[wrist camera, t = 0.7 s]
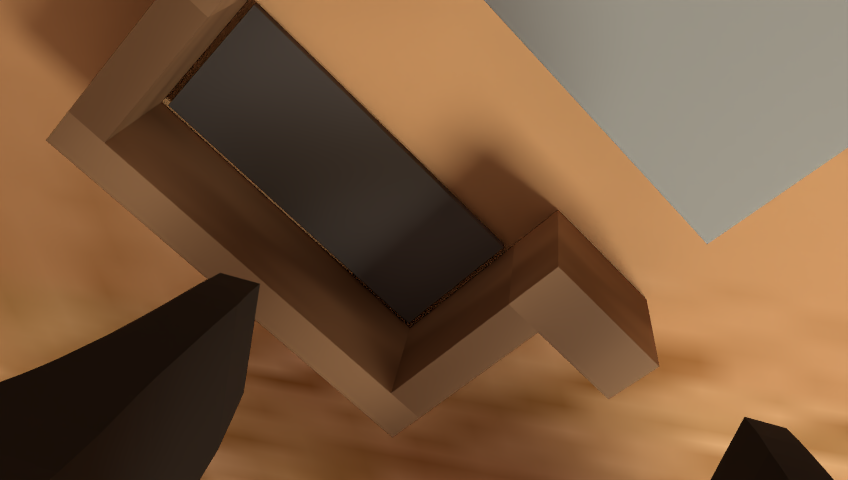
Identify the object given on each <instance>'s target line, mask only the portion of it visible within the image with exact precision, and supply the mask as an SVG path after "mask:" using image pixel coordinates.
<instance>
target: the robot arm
mask: <svg viewBox="0 0 848 480" xmlns="http://www.w3.org/2000/svg"><path fill="white" fill-rule="evenodd" d="M259 288H260V283H256V282H252V281H249V280H245V279H241V278H238V277H234V276H230V275H227V274H223V273H219V274H217V275H215V276H213V277H211V278H209V279H207V280H206V281H204V282H202V283H200V284H198V285H197V286H195V287H193V288H191V289H190V290H188V291H186V292H184V293H183V294H181V295H179V296H178V297H176V298H174V299H172V300H171V301H169V302H167V303H165V304H164V305H162V306H160V307H158V308H157V309H155V310H153V311H151V312H150V313H148V314H146V315H144V316H142V317H140V318H138V319H137V320H135V321H133V322H131V323H129V324H127V325H126V326H124V327H122V328H120V329H118V330H116V331H114V332H113V333H111V334H109V335H107V336H105V337H103V338H100V339H98V340H96V341H94V342H92V343H90V344H88V345H86V346H84V347H82V348H80V349H78V350H75V351H73V352H71V353H69V354H67V355H65V356H63V357H61V358H59V359H57V360H54V361H52V362H50V363H47V364H45V365H43V366H40V367H38V368H35V369H33V370H30V371H28V372H26V373H23V374H20V375H18V376H15V377H12V378H10V379H7V380H4V381H2V382H0V480H200V478H201V477H202V475H203V473H204V472H205V470H206V468H207V467H208V465H209V464H210V462H211V460H212V459H213V457H214V455H215V454H216V452H217V450H218V448H219V446H220V444H221V442H222V439H223V437H224V435H225V433H226V431H227V429H228V426H229V424H230V422H231V420H232V418H233V415H234V413H235V411H236V409H237V406H238V404H239V402H240V400H241V397H242V395H243V393H244V386H245V380H246V373H247V367H248V360H249V353H250V347H251V340H252V334H253V327H254V321H255V314H256V307H257V301H258V294H259ZM711 480H833V478H832V477H831V476H830V475H829V474H828V473H827V471H826V470H825V469H824V468H823V467H822V466H821V465H820V463H819V462H818V461H817V460H816V459H815V458H814V457H813V456H812V454H811V453H810V452H809V451H808V450H807V449H806V448H805V447H804V446H803V445H802V444H801V442H800V441H799V440H798V439H797V438H796V437H795V436H794V435H793V434H792V433H791V432H790V431H789V430H788V429H787V428H783V427H780V426H776V425H772V424H769V423H765V422H762V421H758V420H754V419H751V418H747V417H744V419H743V421H742V423H741V424H740V426H739V428H738V430H737V432H736V434H735V436H734V437H733V439H732V441H731V443H730V445H729V447H728V449H727V450H726V452H725V454H724V456H723V458H722V460H721V462H720V463H719V465H718V467H717V469H716V471H715V473H714V474H713V476H712V478H711Z"/></svg>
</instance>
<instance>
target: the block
mask: <svg viewBox="0 0 848 480" xmlns="http://www.w3.org/2000/svg"><path fill="white" fill-rule="evenodd" d="M484 1H485V2H486V3H487V4H488V5H489V6H490V7H491V8H492V9H493V10H494V12H495V13H496V14H497V15H498V16H499V17H500V18H501V19H502V20H503V21H504V23H505V24H506V25H507V26H508V27H509V28H510V29H511V30H512V31H513V32H514V33H515V35H516V36H517V37H518V38H519V39H520V40H521V41H522V42H523V43H524V44H525V45H526V47H527V48H528V49H529V50H530V51H531V52H532V53H533V54H534V55H535V56H536V58H537V59H538V60H539V61H540V62H541V63H542V64H543V65H544V66H545V67H546V68H547V70H548V71H549V72H550V73H551V74H552V75H553V76H554V77H555V78H556V79H557V80H558V82H559V83H560V84H561V85H562V86H563V87H564V88H565V89H566V90H567V91H568V92H569V94H570V95H571V96H572V97H573V98H574V99H575V100H576V101H577V102H578V103H579V105H580V106H581V107H582V108H583V109H584V110H585V111H586V112H587V113H588V114H589V115H590V117H591V118H592V119H593V120H594V121H595V122H596V123H597V124H598V125H599V126H600V127H601V129H602V130H603V131H604V132H605V133H606V134H607V135H608V136H609V137H610V138H611V139H612V141H613V142H614V143H615V144H616V145H617V146H618V147H619V148H620V149H621V150H622V152H623V153H624V154H625V155H626V156H627V157H628V158H629V159H630V160H631V161H632V162H633V164H634V165H635V166H636V167H637V168H638V169H639V170H640V171H641V172H642V173H643V174H644V176H645V177H646V178H647V179H648V180H649V181H650V182H651V183H652V184H653V185H654V187H655V188H656V189H657V190H658V191H659V192H660V193H661V194H662V195H663V196H664V197H665V199H666V200H667V201H668V202H669V203H670V204H671V205H672V206H673V207H674V208H675V209H676V211H677V212H678V213H679V214H680V215H681V216H682V217H683V218H684V219H685V220H686V221H687V223H688V224H689V225H690V226H691V227H692V228H693V229H694V230H695V231H696V232H697V234H698V235H699V236H700V237H701V238H702V239H703V240H704V241H705V242H706V243H707V244H708V243H710V242H711V241H713V240H714V239H715V238H717V237H718V236H720V235H721V234H723V233H724V232H726V231H727V230H729V229H730V228H731V227H733V226H734V225H736V224H737V223H739V222H740V221H742V220H743V219H745V218H746V217H747V216H749V215H750V214H752V213H753V212H755V211H756V210H758V209H759V208H761V207H762V206H763V205H765V204H766V203H768V202H769V201H771V200H772V199H774V198H775V197H777V196H778V195H779V194H781V193H782V192H784V191H785V190H787V189H788V188H790V187H791V186H793V185H794V184H795V183H797V182H798V181H800V180H801V179H803V178H804V177H806V176H807V175H809V174H810V173H811V172H813V171H814V170H816V169H817V168H819V167H820V166H822V165H823V164H825V163H826V162H827V161H829V160H830V159H832V158H833V157H835V156H836V155H838V154H839V153H841V152H842V151H843V150H845V149H846V148H848V0H484Z"/></svg>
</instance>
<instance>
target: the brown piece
mask: <svg viewBox="0 0 848 480" xmlns="http://www.w3.org/2000/svg"><path fill="white" fill-rule="evenodd" d="M247 1H248V0H155V1H154V2H153V4H152V5H151V6H150V7H149V9H148V10H147V11H146V13H145V14H144V15H143V16H142V18H141V19H140V20H139V22H138V23H137V24H136V25H135V27H134V28H133V29H132V30H131V32H130V33H129V34H128V36H127V37H126V38H125V39H124V41H123V42H122V43H121V45H120V46H119V47H118V48H117V50H116V51H115V52H114V54H113V55H112V56H111V57H110V59H109V60H108V61H107V63H106V64H105V65H104V66H103V68H102V69H101V70H100V71H99V73H98V74H97V75H96V77H95V78H94V79H93V80H92V82H91V83H90V84H89V86H88V87H87V88H86V89H85V91H84V92H83V93H82V95H81V96H80V97H79V98H78V100H77V101H76V102H75V104H74V105H73V106H72V107H71V109H70V110H69V111H68V112H67V114H66V115H65V116H64V118H63V119H62V120H61V121H60V123H59V124H58V125H57V127H56V128H55V129H54V130H53V132H52V133H51V134H50V136H49V137H48V138H47V139H46V141H47V142H48V143H50V144H51V145H52V146H53V147H54V148H55V149H57V150H58V151H59V152H60V153H61V154H62V155H64V156H65V157H66V158H67V159H68V160H69V161H71V162H72V163H73V164H74V165H75V166H76V167H78V168H79V169H80V170H81V171H82V172H83V173H85V174H86V175H87V176H88V177H89V178H90V179H92V180H93V181H94V182H95V183H96V184H97V185H99V186H100V187H101V188H102V189H103V190H104V191H106V192H107V193H108V194H109V195H110V196H111V197H113V198H114V199H115V200H116V201H117V202H118V203H120V204H121V205H122V206H123V207H124V208H125V209H127V210H128V211H129V212H130V213H131V214H132V215H134V216H135V217H136V218H137V219H138V220H139V221H141V222H142V223H143V224H144V225H145V226H146V227H148V228H149V229H150V230H151V231H152V232H153V233H155V234H156V235H157V236H158V237H159V238H160V239H162V240H163V241H164V242H165V243H166V244H167V245H169V246H170V247H171V248H172V249H173V250H174V251H176V252H177V253H178V254H179V255H180V256H181V257H183V258H184V259H185V260H186V261H187V262H188V263H190V264H191V265H192V266H193V267H194V268H195V269H197V270H198V271H199V272H200V273H201V274H202V275H204V276H205V277H206V278H207V279H209V278H211V277H213V276H215V275H217V274H219V273H223V274H227V275H230V276H234V277H238V278H241V279H245V280H249V281H252V282H256V283H260V288H259V294H258V301H257V307H256V314H255V320H256V321H257V322H258V323H260V324H261V325H262V326H263V327H264V328H265V329H267V330H268V331H269V332H270V333H271V334H272V335H274V336H275V337H276V338H277V339H278V340H279V341H281V342H282V343H283V344H284V345H285V346H286V347H288V348H289V349H290V350H291V351H292V352H293V353H295V354H296V355H297V356H298V357H299V358H300V359H302V360H303V361H304V362H305V363H306V364H307V365H309V366H310V367H311V368H312V369H313V370H314V371H316V372H317V373H318V374H319V375H320V376H321V377H323V378H324V379H325V380H326V381H327V382H328V383H330V384H331V385H332V386H333V387H334V388H335V389H337V390H338V391H339V392H340V393H341V394H342V395H344V396H345V397H346V398H347V399H348V400H349V401H351V402H352V403H353V404H354V405H355V406H356V407H358V408H359V409H360V410H361V411H362V412H363V413H365V414H366V415H367V416H368V417H369V418H370V419H372V420H373V421H374V422H375V423H376V424H377V425H379V426H380V427H381V428H382V429H383V430H384V431H386V432H387V433H388V434H389V435H390V436H391V437H394V436H395V435H397V434H398V433H399V432H401V431H402V430H404V429H405V428H406V427H408V426H409V425H411V424H412V423H413V422H415V421H416V420H417V419H419V418H420V417H422V416H423V415H424V414H426V413H427V412H429V411H430V410H431V409H433V408H434V407H435V406H437V405H438V404H440V403H441V402H442V401H444V400H445V399H447V398H448V397H449V396H451V395H452V394H453V393H455V392H456V391H458V390H459V389H460V388H462V387H463V386H465V385H466V384H467V383H469V382H470V381H471V380H473V379H474V378H476V377H477V376H478V375H480V374H481V373H483V372H484V371H485V370H487V369H488V368H489V367H491V366H492V365H494V364H495V363H496V362H498V361H499V360H501V359H502V358H503V357H505V356H506V355H507V354H509V353H510V352H512V351H513V350H514V349H516V348H517V347H518V346H520V345H521V344H523V343H524V342H525V341H527V340H528V339H530V338H531V337H532V336H534V335H535V334H536V333H539V334H540V335H541V336H542V337H543V338H545V339H546V340H547V341H548V342H549V343H550V344H551V345H552V346H553V347H554V348H555V349H556V350H557V351H558V352H559V353H560V354H561V355H562V356H563V357H564V358H566V359H567V360H568V361H569V362H570V363H571V364H572V365H573V366H574V367H575V368H576V369H577V370H578V371H579V372H580V373H581V374H582V375H583V376H584V377H585V378H586V379H588V380H589V381H590V382H591V383H592V384H593V385H594V386H595V387H596V388H597V389H598V390H599V391H600V392H601V393H602V394H603V395H604V396H605V397H606V398H607V399H610V398H611V397H613V396H615V395H616V394H618V393H619V392H621V391H622V390H624V389H625V388H627V387H628V386H630V385H632V384H633V383H635V382H636V381H638V380H639V379H641V378H642V377H644V376H646V375H647V374H649V373H650V372H652V371H653V370H655V369H656V368H658V367H659V362H658V357H657V352H656V347H655V341H654V336H653V331H652V326H651V321H650V315H649V310H648V305H647V300H646V299H645V298H644V297H643V296H642V295H641V294H640V293H639V292H638V291H637V290H636V289H635V288H634V287H633V286H632V285H631V284H630V283H629V282H628V281H627V280H626V279H625V278H624V277H623V275H622V274H621V273H620V272H619V271H618V270H617V269H616V268H615V267H614V266H613V265H612V264H611V263H610V262H609V261H608V260H607V259H606V258H605V257H604V256H603V255H602V254H601V253H600V252H599V251H598V250H597V249H596V248H595V247H594V246H593V245H592V244H591V243H590V242H589V241H588V240H587V239H586V238H585V237H584V236H583V235H582V234H581V233H580V232H579V231H578V230H577V229H576V228H575V227H574V226H573V225H572V224H571V223H570V222H569V221H568V220H567V219H566V218H565V217H564V216H563V215H562V214H561V213H560V212H559V211H556V212H555V213H554V214H552V215H551V216H550V217H549V218H547V219H546V220H545V221H544V222H542V223H541V224H540V225H539V226H537V227H536V228H535V229H534V230H532V231H531V232H530V233H529V234H527V235H526V236H525V237H524V238H522V239H521V240H520V241H519V242H517V243H516V244H515V245H513V246H512V247H511V248H510V249H508V250H507V251H506V252H505V253H503V254H502V255H501V256H500V257H498V258H497V259H496V260H495V261H493V262H492V263H491V264H490V265H488V266H487V267H486V268H485V269H483V270H482V271H481V272H480V273H478V274H477V275H476V276H474V277H473V278H472V279H471V280H469V281H468V282H467V283H466V284H464V285H463V286H462V287H461V288H459V289H458V290H457V291H456V292H454V293H453V294H452V295H451V296H449V297H448V298H447V299H446V300H444V301H443V302H442V303H441V304H439V305H438V306H437V307H435V308H434V309H433V310H432V311H430V312H429V313H428V314H427V315H425V316H424V317H423V318H422V319H420V320H419V321H418V322H417V323H415V324H414V325H413V326H412V327H410V328H409V327H408V326H407V325H406V324H405V323H404V322H403V321H402V320H401V319H400V318H398V317H397V316H396V315H395V314H394V313H393V312H392V311H391V310H390V309H389V308H387V307H386V306H385V305H384V304H383V303H382V302H381V301H380V300H379V299H377V298H376V297H375V296H374V295H373V294H372V293H371V292H370V291H369V290H368V289H366V288H365V287H364V286H363V285H362V284H361V283H360V282H359V281H358V280H357V279H355V278H354V277H353V276H352V275H351V274H350V273H349V272H348V271H347V270H346V269H344V268H343V267H342V266H341V265H340V264H339V263H338V262H337V261H336V260H334V259H333V258H332V257H331V256H330V255H329V254H328V253H327V252H326V251H325V250H323V249H322V248H321V247H320V246H319V245H318V244H317V243H316V242H315V241H314V240H312V239H311V238H310V237H309V236H308V235H307V234H306V233H305V232H304V231H303V230H301V229H300V228H299V227H298V226H297V225H296V224H295V223H294V222H293V221H291V220H290V219H289V218H288V217H287V216H286V215H285V214H284V213H283V212H282V211H280V210H279V209H278V208H277V207H276V206H275V205H274V204H273V203H272V202H271V201H269V200H268V199H267V198H266V197H265V196H264V195H263V194H262V193H261V192H259V191H258V190H257V189H256V188H255V187H254V186H253V185H252V184H251V183H250V182H248V181H247V180H246V179H245V178H244V177H243V176H242V175H241V174H240V173H239V172H237V171H236V170H235V169H234V168H233V167H232V166H231V165H230V164H229V163H228V162H226V161H225V160H224V159H223V158H222V157H221V156H220V155H219V154H218V153H216V152H215V151H214V150H213V149H212V148H211V147H210V146H209V145H208V144H207V143H205V142H204V141H203V140H202V139H201V138H200V137H199V136H198V135H197V134H196V133H194V132H193V131H192V130H191V129H190V128H189V127H188V126H187V125H186V124H185V123H183V122H182V121H181V120H180V119H179V118H178V117H177V116H176V115H175V114H173V113H172V112H171V111H170V110H169V109H168V108H167V107H166V106H165V105H164V104H162V103H161V102H162V101H163V100H164V99H165V97H166V96H167V95H168V94H169V93H170V92H171V90H172V89H173V88H174V87H175V86H176V84H177V83H178V82H179V81H180V80H181V79H182V77H183V76H184V75H185V74H186V73H187V71H188V70H189V69H190V68H191V67H192V66H193V64H194V63H195V62H196V61H197V60H198V59H199V57H200V56H201V55H202V54H203V53H204V51H205V50H206V49H207V48H208V47H209V46H210V44H211V43H212V42H213V41H214V40H215V38H216V37H217V36H218V35H219V34H220V33H221V31H222V30H223V29H224V28H225V27H226V25H227V24H228V23H229V22H230V21H231V20H232V18H233V17H234V16H235V15H236V14H237V12H238V11H239V10H240V9H241V8H242V7H243V5H244V4H245V3H246V2H247ZM169 106H170V107H171V108H172V109H173V110H174V111H175V112H177V113H178V114H179V115H180V116H181V117H182V118H183V119H184V120H185V121H186V122H188V123H189V124H190V125H191V126H192V127H193V128H194V129H195V130H196V131H197V132H199V133H200V134H201V135H202V136H203V137H204V138H205V139H206V140H207V141H208V142H210V143H211V144H212V145H213V146H214V147H215V148H216V149H217V150H218V151H219V152H221V153H222V154H223V155H224V156H225V157H226V158H227V159H228V160H229V161H230V162H232V163H233V164H234V165H235V166H236V167H237V168H238V169H239V170H240V171H241V172H243V173H244V174H245V175H246V176H247V177H248V178H249V179H250V180H251V181H252V182H254V183H255V184H256V185H257V186H258V187H259V188H260V189H261V190H262V191H263V192H265V193H266V194H267V195H268V196H269V197H270V198H271V199H272V200H273V201H275V202H276V203H277V204H278V205H279V206H280V207H281V208H282V209H283V210H284V211H286V212H287V213H288V214H289V215H290V216H291V217H292V218H293V219H294V220H295V221H297V222H298V223H299V224H300V225H301V226H302V227H303V228H304V229H305V230H306V231H308V232H309V233H310V234H311V235H312V236H313V237H314V238H315V239H316V240H317V241H319V242H320V243H321V244H322V245H323V246H324V247H325V248H326V249H327V250H328V251H330V252H331V253H332V254H333V255H334V256H335V257H336V258H337V259H338V260H339V261H341V262H342V263H343V264H344V265H345V266H346V267H347V268H348V269H349V270H350V271H352V272H353V273H354V274H355V275H356V276H357V277H358V278H359V279H360V280H361V281H363V282H364V283H365V284H366V285H367V286H368V287H369V288H370V289H371V290H372V291H374V292H375V293H376V294H377V295H378V296H379V297H380V298H381V299H382V300H384V301H385V302H386V303H387V304H388V305H389V306H390V307H391V308H392V309H393V310H395V311H396V312H397V313H398V314H399V315H400V316H401V317H402V318H403V319H404V320H406V321H407V322H408V323H410V322H411V321H412V320H413V319H415V318H416V317H417V316H418V315H420V314H421V313H422V312H423V311H425V310H426V309H427V308H428V307H430V306H431V305H432V304H433V303H435V302H436V301H437V300H438V299H440V298H441V297H442V296H443V295H445V294H446V293H447V292H448V291H450V290H451V289H452V288H453V287H455V286H456V285H457V284H458V283H460V282H461V281H462V280H463V279H465V278H466V277H467V276H468V275H470V274H471V273H472V272H473V271H475V270H476V269H477V268H478V267H480V266H481V265H482V264H483V263H485V262H486V261H487V260H488V259H490V258H491V257H492V256H493V255H495V254H496V253H497V252H498V251H500V250H501V249H502V248H503V245H504V244H503V243H502V242H501V241H500V240H499V239H498V238H497V237H496V236H495V235H494V234H493V233H492V232H491V231H490V230H489V229H488V228H487V227H486V226H485V225H484V224H483V223H481V222H480V221H479V220H478V219H477V218H476V217H475V216H474V215H473V214H472V213H471V212H470V211H469V210H468V209H467V208H466V207H465V206H464V205H463V204H462V203H461V202H460V201H459V200H458V199H457V198H456V197H455V196H454V195H453V194H452V193H451V192H450V191H449V190H448V189H447V188H446V187H445V186H444V185H443V184H442V183H441V182H440V181H438V180H437V179H436V178H435V177H434V176H433V175H432V174H431V173H430V172H429V171H428V170H427V169H426V168H425V167H424V166H423V165H422V164H421V163H420V162H419V161H418V160H417V159H416V158H415V157H414V156H413V155H412V154H411V153H410V152H409V151H408V150H407V149H406V148H405V147H404V146H403V145H402V144H401V143H400V142H399V141H398V140H397V139H395V138H394V137H393V136H392V135H391V134H390V133H389V132H388V131H387V130H386V129H385V128H384V127H383V126H382V125H381V124H380V123H379V122H378V121H377V120H376V119H375V118H374V117H373V116H372V115H371V114H370V113H369V112H368V111H367V110H366V109H365V108H364V107H363V106H362V105H361V104H360V103H359V102H358V101H357V100H356V99H355V98H353V97H352V96H351V95H350V94H349V93H348V92H347V91H346V90H345V89H344V88H343V87H342V86H341V85H340V84H339V83H338V82H337V81H336V80H335V79H334V78H333V77H332V76H331V75H330V74H329V73H328V72H327V71H326V70H325V69H324V68H323V67H322V66H321V65H320V64H319V63H318V62H317V61H316V60H315V59H314V58H313V57H312V56H310V55H309V54H308V53H307V52H306V51H305V50H304V49H303V48H302V47H301V46H300V45H299V44H298V43H297V42H296V41H295V40H294V39H293V38H292V37H291V36H290V35H289V34H288V33H287V32H286V31H285V30H284V29H283V28H282V27H281V26H280V25H279V24H278V23H277V22H276V21H275V20H274V19H273V18H272V17H271V16H270V15H268V14H267V13H266V12H265V11H264V10H263V9H262V8H261V7H260V6H259V5H258V4H257V3H256V4H255V5H254V6H253V7H252V8H251V9H250V10H249V11H248V13H247V14H246V15H245V16H244V17H243V19H242V20H241V21H240V22H239V23H238V24H237V26H236V27H235V28H234V29H233V30H232V31H231V33H230V34H229V35H228V36H227V37H226V38H225V40H224V41H223V42H222V43H221V44H220V45H219V47H218V48H217V49H216V50H215V51H214V52H213V54H212V55H211V56H210V57H209V58H208V59H207V61H206V62H205V63H204V64H203V65H202V67H201V68H200V69H199V70H198V71H197V72H196V74H195V75H194V76H193V77H192V78H191V79H190V81H189V82H188V83H187V84H186V85H185V86H184V88H183V89H182V90H181V91H180V92H179V93H178V95H177V96H176V97H175V98H174V99H173V100H172V102H171V103H170V104H169Z"/></svg>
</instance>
